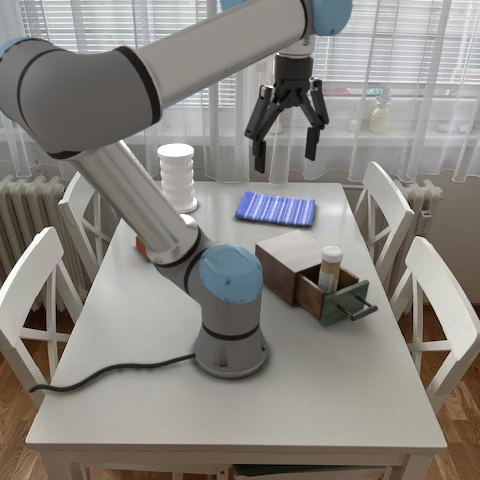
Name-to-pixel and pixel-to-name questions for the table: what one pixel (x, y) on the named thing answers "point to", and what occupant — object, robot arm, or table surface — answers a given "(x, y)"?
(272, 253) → the cabinet
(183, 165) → the decorative container
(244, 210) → the dish towel
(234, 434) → the table surface
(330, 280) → the sprinkles bottle
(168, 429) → the table surface
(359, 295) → the drawer
